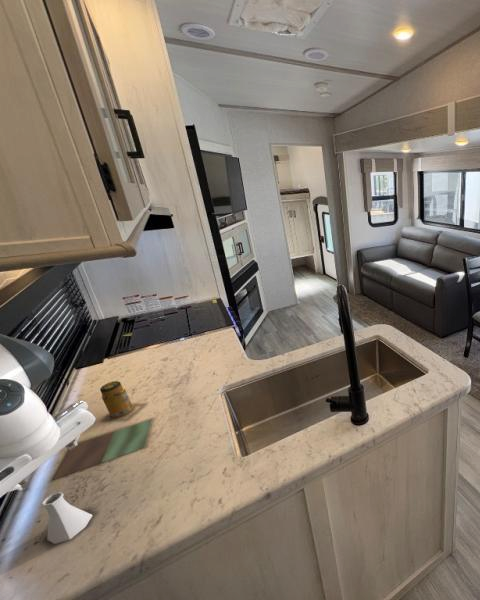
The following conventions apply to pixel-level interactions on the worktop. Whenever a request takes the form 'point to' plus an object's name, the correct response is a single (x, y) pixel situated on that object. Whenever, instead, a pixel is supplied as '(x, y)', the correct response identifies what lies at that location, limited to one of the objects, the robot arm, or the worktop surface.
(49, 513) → the flask
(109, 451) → the sorting board
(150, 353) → the worktop surface
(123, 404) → the condiment
